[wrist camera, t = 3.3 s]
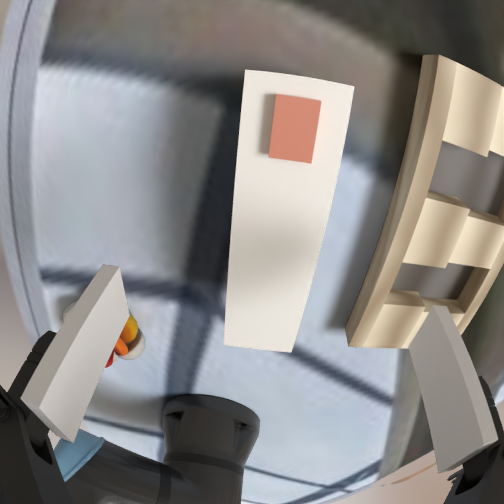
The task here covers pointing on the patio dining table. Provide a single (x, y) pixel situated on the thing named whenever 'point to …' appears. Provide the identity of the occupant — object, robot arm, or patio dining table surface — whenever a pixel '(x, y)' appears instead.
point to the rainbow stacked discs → (122, 339)
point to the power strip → (281, 202)
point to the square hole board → (439, 211)
